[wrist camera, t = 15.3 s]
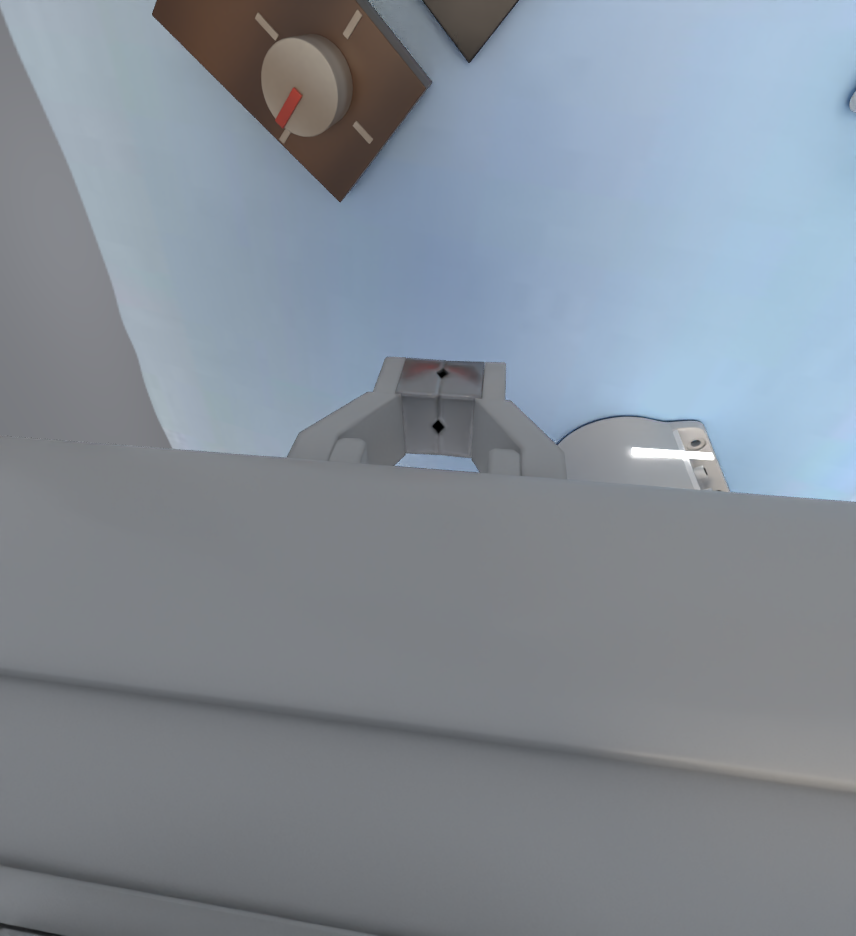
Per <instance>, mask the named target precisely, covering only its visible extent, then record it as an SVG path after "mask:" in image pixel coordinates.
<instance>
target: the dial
mask: <svg viewBox="0 0 856 936" xmlns="http://www.w3.org/2000/svg"><path fill="white" fill-rule="evenodd" d="M261 83H262V90H263V94H264V98H265V100H266V103H267V105H268V107H269V110H270V111H271V113H272V115H273V116H274V117H275V121H276V122H277V123H278V124H279V125H280V126H281V127H282V128H285V129H287V130H288V131H290V132H291V133H293V134H296V135H298V136H303V137H313V136H316V135H319V134H321V133H322V132H324V131H325V130H327V129H328V128H330V127H331V126H332V125H334V124H335V123H337V122H338V121H340V120H341V119H342V118H343V117H344V115H345V114H346V112H347V111H348V109H349V106H350V104H351V100H352V93H353V84H352V76H351V72H350V69H349V66H348V63H347V61H346V59H345V57H344V56H343V54H342V52H341V51H340V50H339V49H338V47H337V46H336V45H335V44H334V43H332V42H331V41H330V40H328V39H327V38H325V37H323V36H320V35H316V34H306V35H300V36H294V37H289V38H284V39H281V40H279V41H278V42H276V43H275V44H274V45H272V47H271V48H270V49H269V50H268V52H267V54H266V56H265V58H264V61H263V65H262V71H261Z"/></svg>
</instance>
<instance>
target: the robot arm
mask: <svg viewBox="0 0 856 936" xmlns="http://www.w3.org/2000/svg"><path fill="white" fill-rule="evenodd" d="M484 364H485V367H484ZM505 389H506V363H505V362H467V361H446V360H433V359H420V358H406V357H386V358H385V360H384V363H383V365H382V368H381V371H380V374H379V376H378V379H377V382H376V384H375V387H374V390H373V392H366V393H365V394H363V395H361V396H360V397H358V398H356V399H355V400H353V401H351V402H350V403H348V404H346V405H345V406H343V407H341V408H340V409H338V410H336V411H335V412H333V413H331V414H330V415H328V416H326V417H325V418H323V419H321V420H320V421H318V422H316V423H315V424H313V425H311V426H310V427H308V428H306V429H305V430H303V431H301V432H300V433H299V434H298V436H297V438H296V440H295V442H294V444H293V446H292V448H291V450H290V452H289V454H288V456H287V458H284V457H271V456H258V455H245V454H232V453H219V452H206V451H193V450H180V449H167V448H153V447H142V446H127V445H116V444H102V443H90V442H77V441H64V440H50V439H38V438H26V437H12V436H0V936H856V502H851V501H838V500H825V499H813V498H800V497H787V496H774V495H761V494H748V493H736V492H730V490H729V487H728V485H727V482H726V480H725V477H724V475H723V472H722V470H721V467H720V465H719V462H718V460H717V457H716V454H715V452H714V449H713V447H712V444H711V442H710V439H709V437H708V434H707V432H706V429H705V427H704V425H703V424H702V423H701V422H698V421H677V422H661V421H656V420H652V419H647V418H641V417H615V418H609V419H604V420H600V421H596V422H593V423H590V424H588V425H585V426H583V427H581V428H579V429H577V430H576V431H574V432H572V433H571V434H569V435H568V436H567V437H565V438H564V439H563V440H562V441H561V442H560V443H559V444H558V445H556V444H555V443H554V442H553V441H552V440H551V439H550V438H549V437H548V436H547V435H546V434H545V433H544V432H543V431H542V430H541V429H540V428H539V427H538V426H537V425H536V424H535V423H534V422H533V421H531V420H530V419H529V418H528V417H527V416H526V415H525V414H524V413H523V412H522V411H521V410H520V409H519V408H518V407H517V406H516V405H515V404H514V403H513V402H512V401H510V400H505ZM694 440H697V441H695V442H692V441H694ZM405 453H411V454H431V455H445V456H455V457H465V458H472V461H473V463H474V464H475V466H476V467H477V469H478V470H479V472H480V473H478V472H465V471H452V470H439V469H426V468H413V467H400V466H394V465H395V464H396V463H397V462H399V461H400V460H401V459H402V458H403V457H404V456H405Z"/></svg>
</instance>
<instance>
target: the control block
mask: <svg viewBox="0 0 856 936" xmlns="http://www.w3.org/2000/svg"><path fill="white" fill-rule="evenodd" d="M422 1H423V2H424V3H425V5H426V6H427V7H428V9H429V10H430V11H431V13H432V14H433V15H434V17H435V18H436V19H437V21H438V22H439V23H440V25H441V26H442V27H443V29H444V30H445V32H446V33H447V34H448V36H449V37H450V38H451V40H452V41H453V42H454V44H455V45H456V46H457V48H458V49H459V50H460V52H461V53H462V54H463V56H464V57H465V58H466V60H467V61H468V62H469V63H470V62H471V61H472V59H473V58H474V57H475V56H476V54H477V53H478V52H479V50H480V49H481V48H482V47H483V45H484V44H485V43H486V42H487V40H488V39H489V38H490V36H491V35H492V34H493V33H494V31H495V30H496V29H497V28H498V26H499V25H500V24H501V22H502V21H503V20H504V19H505V17H506V16H507V15H508V14H509V12H510V11H511V10H512V8H513V7H514V6H515V5H516V3H517V2H518V1H519V0H422Z"/></svg>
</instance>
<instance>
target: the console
mask: <svg viewBox="0 0 856 936" xmlns="http://www.w3.org/2000/svg"><path fill="white" fill-rule="evenodd" d="M152 16H153V17H154V18H155V19H156V20H157V21H159V22H160V23H161V24H162V25H163V26H164V27H165V28H166V29H167V30H168V31H169V32H170V33H171V34H172V35H173V36H174V37H175V38H176V39H177V40H178V41H179V42H180V43H181V44H182V45H183V46H184V47H185V48H186V49H187V50H188V51H189V52H190V53H191V54H192V55H193V56H194V57H195V58H196V59H197V60H198V61H199V62H200V63H201V64H202V65H203V66H204V67H205V68H206V69H207V70H208V71H209V72H210V73H211V74H212V75H213V76H214V77H215V78H216V79H217V80H218V81H219V82H220V83H221V84H222V85H223V86H224V87H225V88H226V89H227V90H228V91H229V92H230V93H231V94H232V95H233V96H234V97H235V98H236V99H237V100H238V101H239V102H240V103H241V104H242V105H243V106H244V107H245V108H246V109H247V110H248V111H249V112H250V113H251V114H252V115H253V116H254V117H255V118H256V119H257V120H258V121H259V122H260V123H261V124H262V125H263V126H264V127H265V128H266V129H267V130H268V131H269V132H270V133H271V134H272V135H273V136H274V137H275V138H276V139H277V140H278V141H279V142H280V143H281V144H282V145H283V146H284V147H285V148H286V149H287V150H288V151H289V152H290V153H291V154H292V155H293V156H294V157H295V158H296V159H297V160H298V161H299V162H300V163H301V164H302V165H303V166H304V167H305V168H306V169H307V170H308V171H309V172H310V173H311V174H312V175H313V176H314V177H315V178H316V179H317V180H318V181H319V182H320V183H321V184H322V185H323V186H324V187H325V188H326V189H327V190H328V191H329V192H330V193H331V194H332V195H333V196H334V197H335V198H336V199H337V200H338V201H339V202H341V201H342V200H343V199H344V198H345V196H346V195H347V194H348V193H349V192H350V191H351V189H352V188H353V187H354V185H355V184H356V183H357V181H358V180H359V179H360V177H361V176H362V175H363V173H364V172H365V171H366V169H367V168H368V167H369V166H370V164H371V163H372V162H373V160H374V159H375V158H376V156H377V155H378V154H379V152H380V151H381V150H382V148H383V147H384V146H385V144H386V143H387V142H388V140H389V139H390V138H391V136H392V135H393V134H394V133H395V131H396V130H397V129H398V127H399V126H400V125H401V123H402V122H403V121H404V119H405V118H406V117H407V115H408V114H409V113H410V111H411V110H412V109H413V107H414V106H415V105H416V103H417V102H418V101H419V100H420V98H421V97H422V96H423V94H424V93H425V92H426V90H427V89H428V88H429V86H430V85H431V84H432V81H431V80H430V78H429V77H428V76H427V75H426V73H425V72H424V71H423V70H422V68H421V67H420V66H419V65H418V63H417V62H416V61H415V60H414V58H413V57H412V56H411V54H410V53H409V52H408V51H407V49H406V48H405V47H404V46H403V44H402V43H401V42H400V41H399V39H398V38H397V37H396V36H395V34H394V33H393V32H392V31H391V29H390V28H389V27H388V26H387V24H386V23H385V22H384V20H383V19H382V18H381V17H380V15H379V14H378V13H377V12H376V10H375V9H374V8H373V7H372V5H371V4H370V3H369V2H368V0H157V1H156V4H155V7H154V10H153V13H152ZM306 34H316V35H320V36H323V37H325V38H327V39H328V40H330V41H331V42H332V43H334V44H335V45H336V46H337V47H338V49H339V50H340V51H341V52H342V54H343V56H344V57H345V59H346V61H347V63H348V66H349V69H350V72H351V76H352V84H353V93H352V100H351V104H350V106H349V109H348V111H347V112H346V114H345V115H344V117H343V118H342V119H341V120H340V121H338V122H337V123H335V124H334V125H332V126H331V127H330V128H328V129H327V130H325V131H324V132H322V133H321V134H319V135H316V136H313V137H303V136H298V135H296V134H293V133H291V132H290V131H288V130H287V129H285V128H282V127H281V126H280V125H279V124H278V123H277V122H276V121H275V117H274V116H273V115H272V113H271V111H270V110H269V107H268V105H267V103H266V100H265V98H264V94H263V90H262V83H261V71H262V65H263V61H264V58H265V56H266V54H267V52H268V50H269V49H270V48H271V47H272V45H274V44H275V43H276V42H278V41H279V40H281V39H284V38H289V37H294V36H300V35H306Z"/></svg>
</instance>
